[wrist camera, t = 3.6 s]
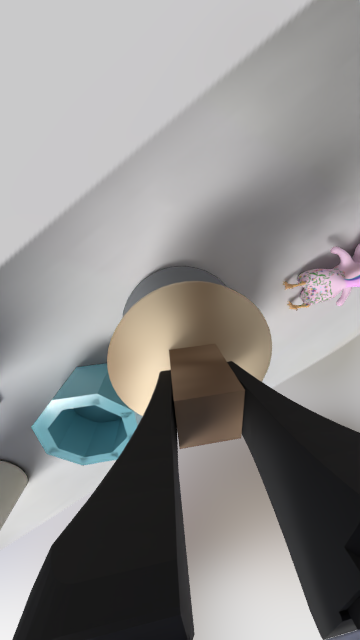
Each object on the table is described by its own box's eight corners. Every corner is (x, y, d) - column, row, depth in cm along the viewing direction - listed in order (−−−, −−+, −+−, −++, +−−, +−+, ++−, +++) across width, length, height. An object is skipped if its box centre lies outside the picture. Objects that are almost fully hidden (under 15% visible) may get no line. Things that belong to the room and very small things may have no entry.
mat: (134, 377, 19) (134, 381, 19) (111, 272, 15) (109, 273, 15) (233, 363, 20) (235, 366, 20) (237, 260, 16) (240, 260, 15)
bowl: (76, 428, 21) (56, 470, 17) (51, 370, 18) (18, 405, 14) (147, 416, 22) (144, 454, 18) (135, 359, 19) (128, 389, 14)
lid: (128, 425, 13) (112, 509, 9) (90, 290, 9) (27, 321, 5) (257, 404, 14) (302, 471, 10) (273, 272, 10) (362, 284, 6)
